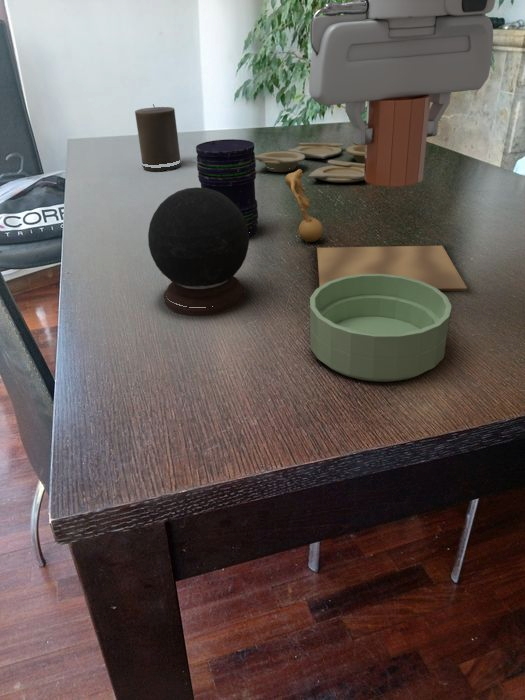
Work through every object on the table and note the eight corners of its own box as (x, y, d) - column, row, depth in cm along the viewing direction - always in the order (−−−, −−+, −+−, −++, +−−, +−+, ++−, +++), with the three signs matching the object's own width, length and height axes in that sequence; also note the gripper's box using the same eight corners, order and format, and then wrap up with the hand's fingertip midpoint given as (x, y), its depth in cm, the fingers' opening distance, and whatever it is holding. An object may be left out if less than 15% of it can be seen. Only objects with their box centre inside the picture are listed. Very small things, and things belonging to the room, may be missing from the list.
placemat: (442, 247, 91) (442, 245, 91) (466, 290, 78) (467, 288, 77) (317, 249, 93) (317, 247, 92) (319, 292, 79) (319, 289, 79)
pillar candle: (164, 173, 140) (156, 107, 132) (135, 169, 144) (125, 106, 137) (189, 164, 147) (182, 101, 139) (160, 161, 151) (152, 100, 144)
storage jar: (270, 231, 101) (267, 143, 93) (229, 246, 95) (222, 154, 88) (233, 219, 107) (227, 136, 100) (192, 233, 102) (182, 146, 94)
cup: (416, 170, 70) (423, 90, 65) (426, 185, 64) (435, 99, 59) (361, 172, 70) (365, 93, 66) (367, 187, 65) (371, 102, 60)
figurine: (321, 250, 92) (322, 175, 86) (284, 250, 93) (283, 176, 87) (323, 232, 99) (324, 162, 93) (288, 232, 100) (287, 163, 94)
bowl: (429, 316, 72) (435, 272, 69) (458, 385, 59) (466, 335, 56) (309, 317, 73) (309, 274, 70) (310, 385, 60) (311, 336, 57)
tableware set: (356, 190, 121) (357, 170, 119) (239, 177, 134) (238, 159, 132) (407, 154, 146) (409, 138, 144) (305, 146, 159) (305, 131, 157)
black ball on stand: (137, 300, 79) (119, 193, 71) (206, 270, 87) (197, 170, 79) (202, 329, 71) (189, 212, 64) (271, 292, 80) (267, 185, 72)
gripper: (322, 2, 53) (322, 156, 60) (510, -9, 57) (489, 135, 65) (298, 3, 58) (300, 145, 65) (472, -7, 63) (456, 126, 70)
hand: (395, 140), depth 65 cm, fingers closed on cup, 7 cm apart
